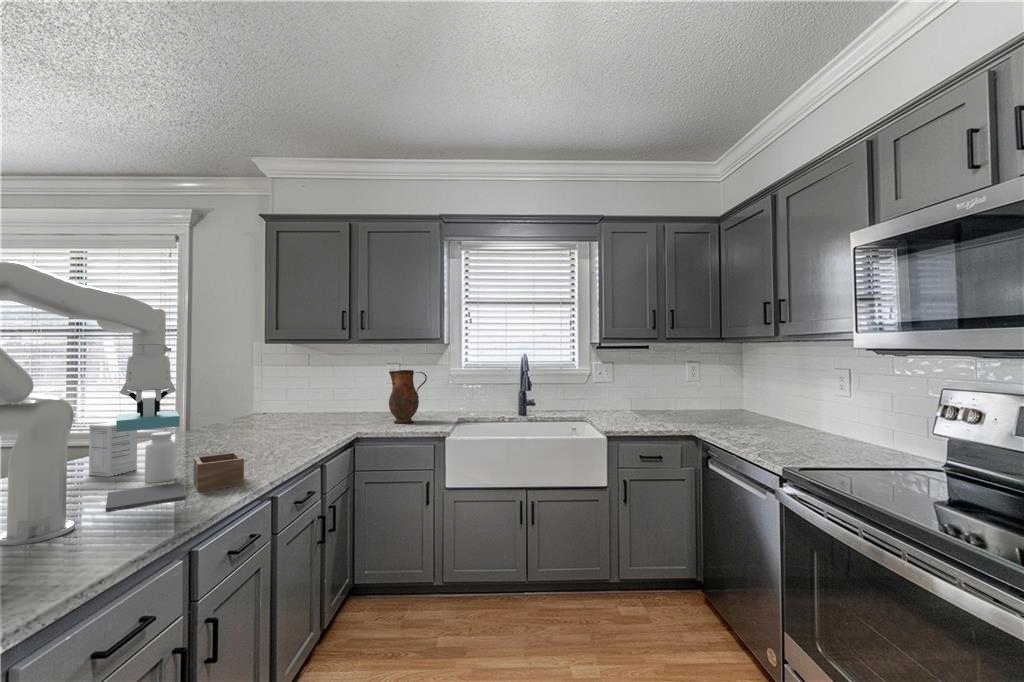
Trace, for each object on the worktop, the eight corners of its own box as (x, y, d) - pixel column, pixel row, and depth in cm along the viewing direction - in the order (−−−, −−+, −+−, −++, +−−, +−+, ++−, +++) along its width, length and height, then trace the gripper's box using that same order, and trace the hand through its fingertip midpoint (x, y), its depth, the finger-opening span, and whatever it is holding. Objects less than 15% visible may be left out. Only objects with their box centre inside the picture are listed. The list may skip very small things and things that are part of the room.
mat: (184, 498, 134) (185, 495, 134) (105, 511, 123) (105, 508, 123) (180, 484, 147) (180, 482, 147) (108, 495, 136) (108, 492, 136)
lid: (179, 426, 134) (179, 398, 134) (116, 432, 126) (116, 401, 126) (176, 420, 145) (176, 394, 145) (117, 424, 136) (117, 397, 136)
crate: (243, 484, 148) (244, 458, 148) (197, 491, 140) (198, 464, 140) (236, 476, 157) (237, 452, 157) (193, 482, 149) (193, 457, 150)
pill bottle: (159, 484, 147) (160, 435, 148) (138, 482, 149) (138, 434, 149) (181, 477, 155) (182, 431, 155) (161, 475, 157) (162, 430, 157)
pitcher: (389, 420, 277) (390, 369, 278) (426, 420, 281) (426, 369, 281) (387, 425, 261) (387, 370, 261) (426, 424, 265) (426, 370, 265)
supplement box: (138, 470, 163) (138, 421, 164) (109, 477, 155) (110, 425, 155) (116, 468, 166) (117, 420, 166) (87, 475, 157) (88, 424, 157)
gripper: (182, 350, 144) (181, 411, 143) (112, 350, 133) (111, 416, 133) (184, 350, 138) (183, 414, 138) (111, 351, 128) (111, 419, 127)
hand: (148, 414), depth 135 cm, fingers closed on lid, 2 cm apart
